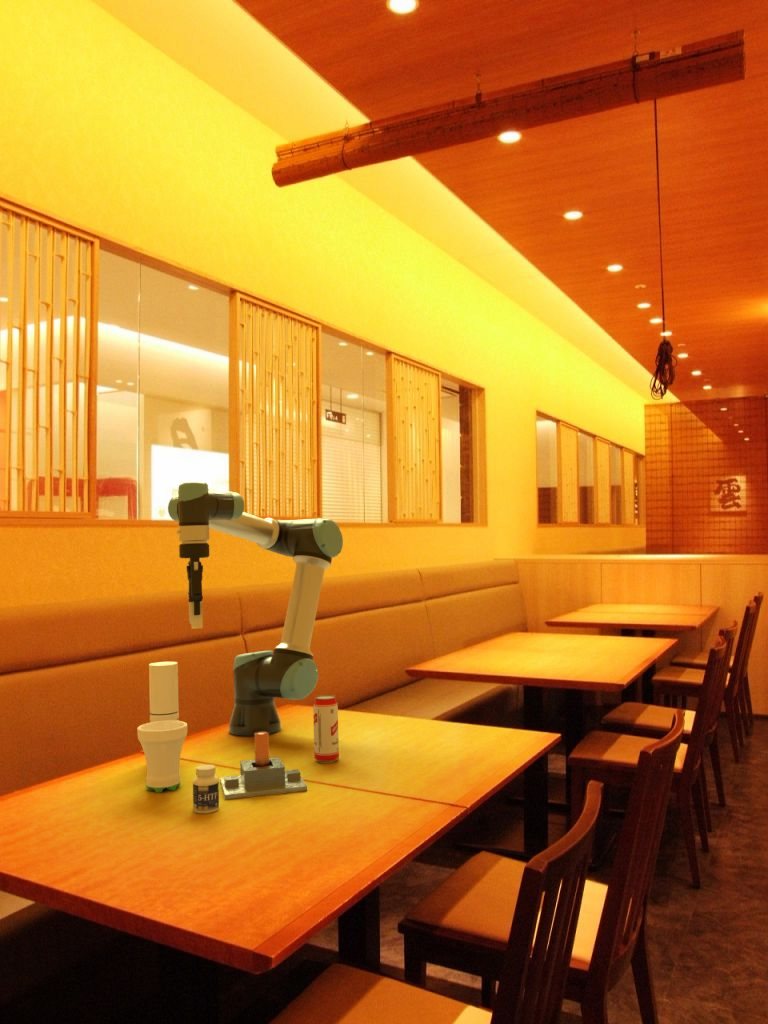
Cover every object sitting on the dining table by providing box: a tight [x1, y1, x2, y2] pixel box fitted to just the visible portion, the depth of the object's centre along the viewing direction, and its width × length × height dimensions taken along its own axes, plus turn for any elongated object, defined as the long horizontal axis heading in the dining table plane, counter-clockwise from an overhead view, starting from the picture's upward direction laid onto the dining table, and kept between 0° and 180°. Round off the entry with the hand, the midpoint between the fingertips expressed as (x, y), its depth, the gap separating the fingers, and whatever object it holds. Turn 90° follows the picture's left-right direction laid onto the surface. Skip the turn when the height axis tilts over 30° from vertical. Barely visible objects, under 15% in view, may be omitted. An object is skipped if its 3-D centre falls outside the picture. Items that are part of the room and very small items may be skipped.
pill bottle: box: [192, 764, 220, 814], centre depth 174 cm, size 5×5×9 cm
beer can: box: [312, 694, 340, 764], centre depth 211 cm, size 6×6×16 cm
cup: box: [136, 720, 188, 794], centre depth 191 cm, size 11×11×14 cm
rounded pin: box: [254, 732, 270, 767], centre depth 190 cm, size 3×3×12 cm
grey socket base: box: [219, 756, 308, 800], centre depth 190 cm, size 14×18×5 cm
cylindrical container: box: [148, 661, 180, 723], centre depth 215 cm, size 7×7×25 cm
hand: (195, 626), depth 213 cm, fingers open, 13 cm apart
